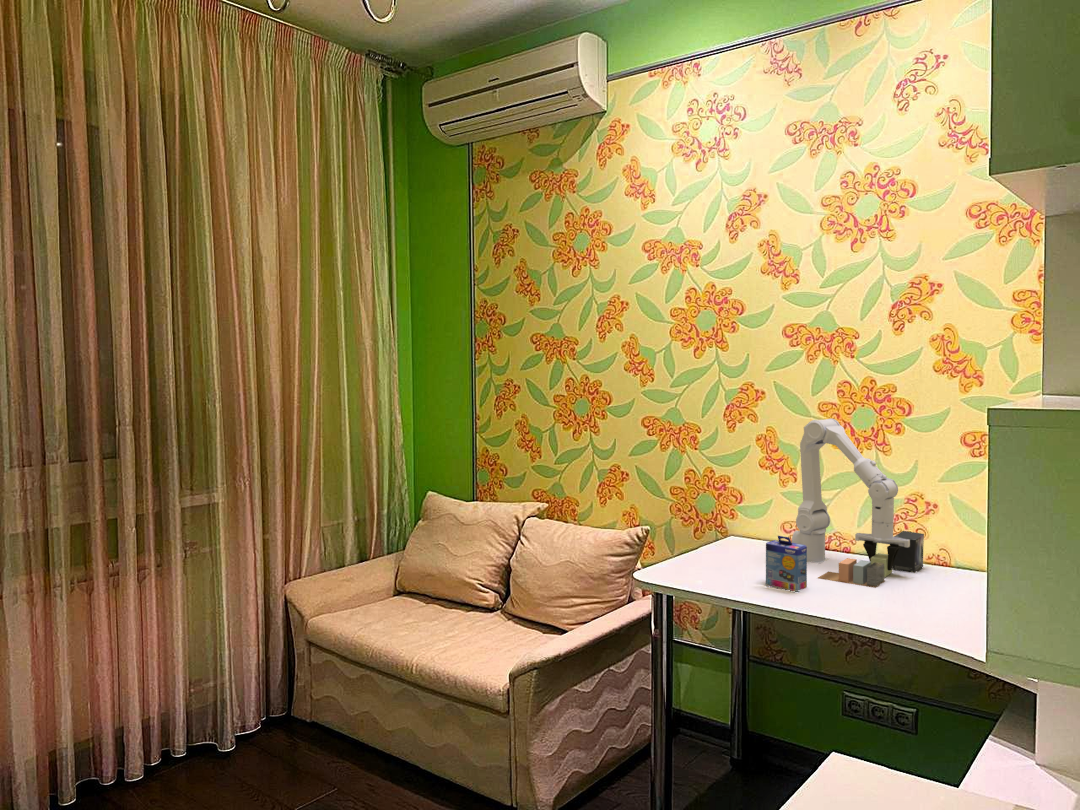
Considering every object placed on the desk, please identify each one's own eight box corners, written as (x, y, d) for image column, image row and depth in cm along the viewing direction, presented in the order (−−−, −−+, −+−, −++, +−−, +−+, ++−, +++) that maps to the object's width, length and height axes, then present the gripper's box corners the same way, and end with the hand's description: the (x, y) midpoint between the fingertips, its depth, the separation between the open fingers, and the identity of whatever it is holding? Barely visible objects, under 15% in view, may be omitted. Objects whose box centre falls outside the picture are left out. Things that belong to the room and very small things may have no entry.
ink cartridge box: (764, 586, 228) (764, 534, 227) (774, 582, 232) (775, 531, 231) (797, 593, 221) (797, 539, 220) (807, 589, 225) (808, 536, 224)
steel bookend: (866, 585, 226) (867, 567, 226) (874, 579, 231) (875, 562, 231) (875, 586, 224) (876, 568, 224) (883, 581, 230) (884, 563, 230)
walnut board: (816, 580, 234) (817, 578, 234) (828, 573, 241) (828, 571, 240) (875, 589, 224) (875, 587, 223) (885, 582, 231) (885, 580, 230)
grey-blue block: (853, 583, 228) (853, 565, 228) (861, 577, 234) (861, 560, 233) (862, 584, 227) (863, 566, 226) (870, 579, 232) (871, 561, 232)
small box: (915, 575, 238) (916, 539, 237) (891, 571, 242) (892, 536, 241) (924, 567, 246) (925, 532, 246) (901, 564, 250) (901, 530, 250)
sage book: (870, 574, 236) (870, 557, 236) (877, 569, 241) (878, 552, 241) (884, 577, 234) (885, 559, 233) (892, 572, 239) (892, 555, 239)
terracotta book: (838, 580, 231) (838, 562, 230) (847, 575, 236) (847, 558, 236) (847, 582, 229) (848, 564, 229) (856, 576, 235) (856, 559, 234)
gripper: (852, 520, 238) (851, 567, 239) (905, 527, 229) (904, 575, 230) (860, 516, 243) (859, 562, 244) (912, 522, 234) (911, 570, 235)
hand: (881, 568), depth 237 cm, fingers closed on sage book, 4 cm apart
